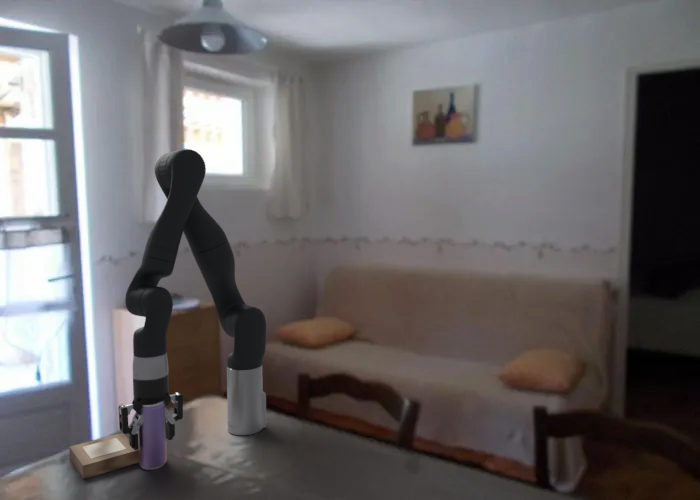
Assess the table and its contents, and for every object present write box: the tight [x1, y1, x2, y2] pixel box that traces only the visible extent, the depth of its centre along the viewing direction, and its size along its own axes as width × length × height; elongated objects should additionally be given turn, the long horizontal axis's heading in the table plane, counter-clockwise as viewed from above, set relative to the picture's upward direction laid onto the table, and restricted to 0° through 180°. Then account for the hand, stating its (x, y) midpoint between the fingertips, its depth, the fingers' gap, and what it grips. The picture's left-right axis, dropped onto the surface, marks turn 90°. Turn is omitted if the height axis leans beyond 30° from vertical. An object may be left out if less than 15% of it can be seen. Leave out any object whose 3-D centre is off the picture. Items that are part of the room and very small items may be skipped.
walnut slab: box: [68, 432, 139, 480], centre depth 123 cm, size 12×12×3 cm
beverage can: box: [138, 400, 168, 471], centre depth 121 cm, size 6×6×15 cm
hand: (152, 443), depth 121 cm, fingers open, 7 cm apart
